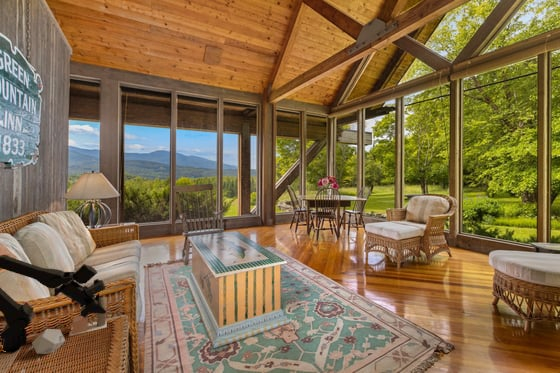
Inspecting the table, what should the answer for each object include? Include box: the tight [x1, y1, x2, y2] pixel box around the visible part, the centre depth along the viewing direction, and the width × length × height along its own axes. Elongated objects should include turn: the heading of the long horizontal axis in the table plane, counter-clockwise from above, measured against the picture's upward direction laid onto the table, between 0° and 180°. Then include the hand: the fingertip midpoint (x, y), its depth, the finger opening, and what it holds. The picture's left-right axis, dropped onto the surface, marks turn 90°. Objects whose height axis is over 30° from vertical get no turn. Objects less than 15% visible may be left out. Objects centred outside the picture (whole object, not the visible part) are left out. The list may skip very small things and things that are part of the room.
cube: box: [72, 314, 89, 334], centre depth 108 cm, size 5×5×5 cm
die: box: [31, 328, 66, 355], centre depth 95 cm, size 8×9×10 cm
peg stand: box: [68, 296, 108, 337], centre depth 110 cm, size 13×7×13 cm, turn 126°
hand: (105, 310), depth 114 cm, fingers closed on peg stand, 3 cm apart
